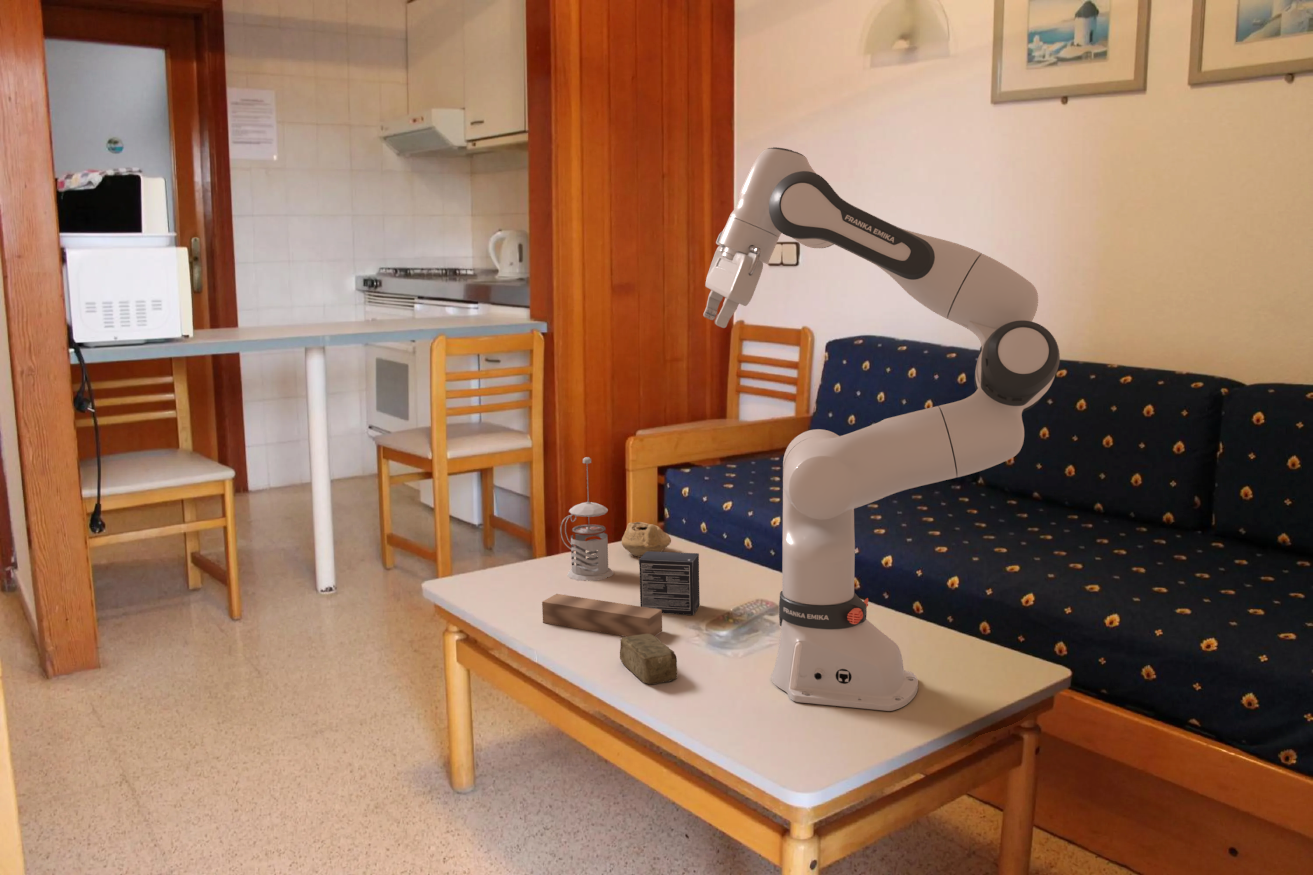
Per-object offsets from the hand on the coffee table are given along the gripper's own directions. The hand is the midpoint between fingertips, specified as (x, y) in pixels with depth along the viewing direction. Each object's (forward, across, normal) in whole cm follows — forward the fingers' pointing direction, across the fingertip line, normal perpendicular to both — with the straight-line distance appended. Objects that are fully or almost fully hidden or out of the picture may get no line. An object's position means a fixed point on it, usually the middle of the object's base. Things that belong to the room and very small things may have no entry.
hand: (713, 322), depth 178 cm
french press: (+61, +39, -6) cm, 73 cm away
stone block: (+56, -16, -9) cm, 59 cm away
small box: (+54, +14, -18) cm, 58 cm away
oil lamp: (+56, +52, -18) cm, 79 cm away
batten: (+59, +6, -5) cm, 59 cm away
